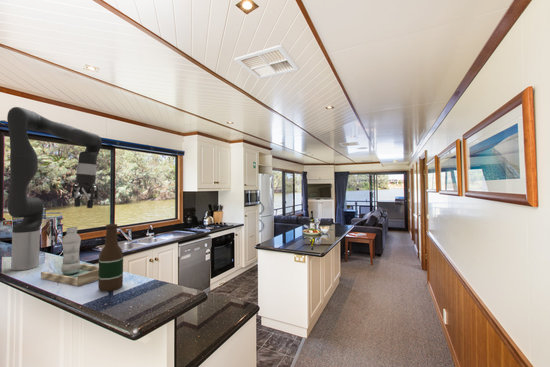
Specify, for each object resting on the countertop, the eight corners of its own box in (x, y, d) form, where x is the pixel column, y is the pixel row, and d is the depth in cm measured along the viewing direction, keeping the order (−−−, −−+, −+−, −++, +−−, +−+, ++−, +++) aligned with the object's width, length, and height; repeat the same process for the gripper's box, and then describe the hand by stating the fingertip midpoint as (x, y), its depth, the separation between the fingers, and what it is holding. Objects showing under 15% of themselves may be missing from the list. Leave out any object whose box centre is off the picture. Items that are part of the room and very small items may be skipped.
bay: (40, 278, 103) (41, 268, 103) (77, 268, 116) (77, 259, 117) (79, 286, 95) (79, 275, 95) (113, 274, 108) (114, 265, 108)
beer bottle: (127, 285, 96) (128, 223, 96) (108, 293, 88) (109, 226, 89) (112, 283, 98) (113, 222, 99) (92, 290, 91) (94, 225, 92)
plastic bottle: (84, 271, 111) (85, 226, 111) (70, 276, 104) (71, 229, 105) (71, 271, 111) (72, 226, 112) (56, 276, 105) (57, 228, 105)
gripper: (67, 172, 118) (64, 206, 117) (88, 173, 113) (85, 209, 113) (84, 173, 125) (81, 206, 124) (104, 174, 120) (101, 208, 120)
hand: (83, 207), depth 119 cm, fingers open, 8 cm apart
